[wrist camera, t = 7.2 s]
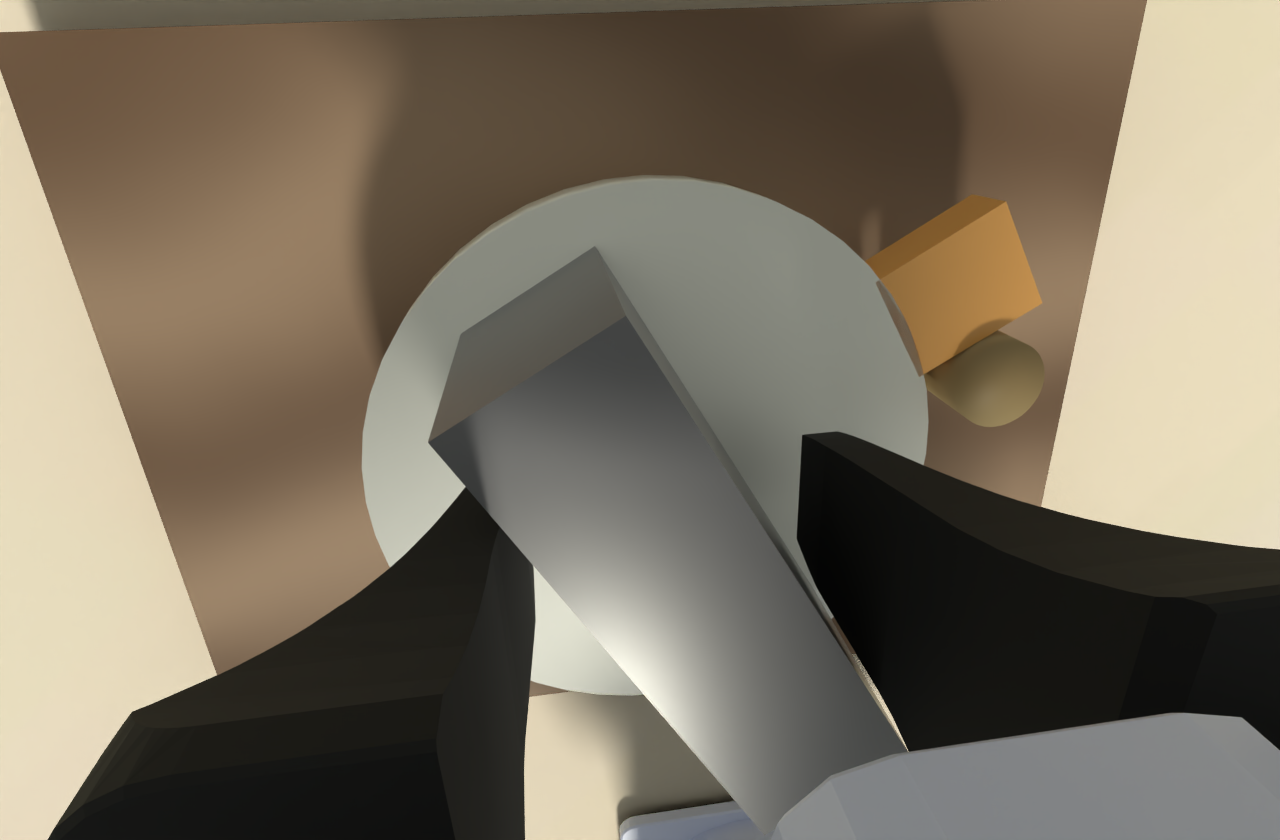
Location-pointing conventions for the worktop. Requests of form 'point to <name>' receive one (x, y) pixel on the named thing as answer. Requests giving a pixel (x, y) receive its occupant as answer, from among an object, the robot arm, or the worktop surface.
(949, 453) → the walnut base
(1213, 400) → the worktop surface
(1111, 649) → the robot arm
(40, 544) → the worktop surface
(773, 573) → the flange disc
